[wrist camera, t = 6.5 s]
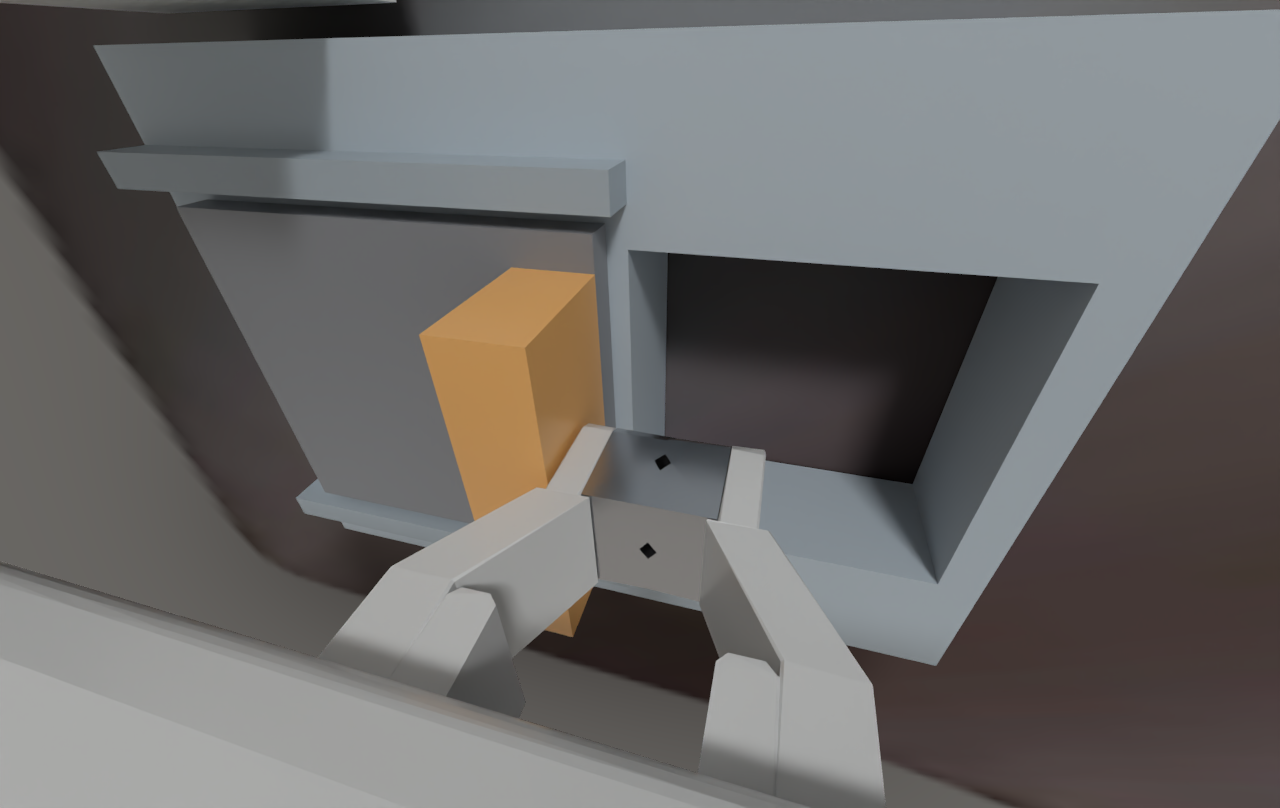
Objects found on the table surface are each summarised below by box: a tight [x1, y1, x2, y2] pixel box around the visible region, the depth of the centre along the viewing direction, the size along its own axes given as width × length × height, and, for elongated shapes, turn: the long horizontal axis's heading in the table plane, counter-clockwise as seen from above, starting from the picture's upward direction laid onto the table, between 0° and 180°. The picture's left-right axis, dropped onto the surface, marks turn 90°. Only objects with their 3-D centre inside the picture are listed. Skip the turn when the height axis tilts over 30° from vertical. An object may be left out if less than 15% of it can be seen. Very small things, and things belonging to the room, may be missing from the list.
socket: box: [93, 10, 1280, 666], centre depth 11 cm, size 12×16×4 cm
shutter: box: [176, 199, 616, 637], centre depth 9 cm, size 7×8×3 cm
